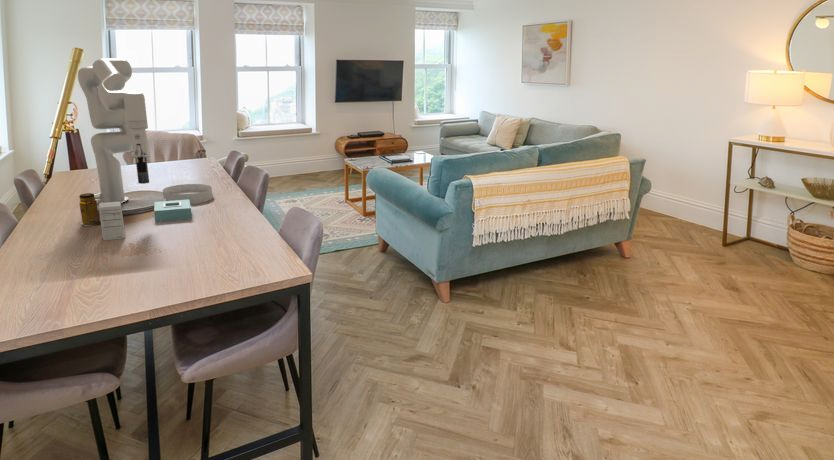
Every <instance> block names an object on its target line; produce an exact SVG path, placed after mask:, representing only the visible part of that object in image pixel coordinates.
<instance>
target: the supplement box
mask: <svg viewBox="0 0 834 460" xmlns="http://www.w3.org/2000/svg"><path fill="white" fill-rule="evenodd" d="M98 215H99V219H100V221H101V224H100V226H101V233H102V239H103V241H112V240H121V239H125V238H126V231H125V223H124V216H123V210H122V203H121V202H108V203H98Z"/></svg>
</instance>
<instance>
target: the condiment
mask: <svg viewBox="0 0 834 460" xmlns="http://www.w3.org/2000/svg"><path fill="white" fill-rule="evenodd" d="M78 203H79V208H80V214H81V215H80V216H81V221H82V222H79V224H80V225H82V226H85V227H92V226H96V225H99V224H100V225H101V221H100V214H99V208H98V200H96V199H95V196H94V193H89V192H88V193H82V194H79V202H78Z"/></svg>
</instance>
